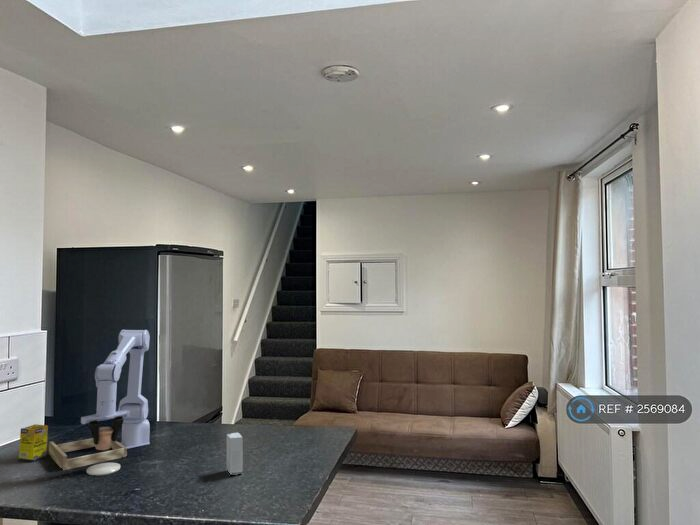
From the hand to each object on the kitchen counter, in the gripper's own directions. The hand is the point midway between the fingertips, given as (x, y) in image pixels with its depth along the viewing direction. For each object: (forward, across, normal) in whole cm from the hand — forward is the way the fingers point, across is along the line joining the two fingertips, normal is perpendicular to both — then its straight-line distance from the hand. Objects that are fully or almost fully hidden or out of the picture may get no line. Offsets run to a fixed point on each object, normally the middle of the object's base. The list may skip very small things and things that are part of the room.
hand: (104, 442), depth 161 cm
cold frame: (+9, 0, +18) cm, 20 cm away
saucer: (+9, 0, 0) cm, 9 cm away
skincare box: (+9, +31, -30) cm, 44 cm away
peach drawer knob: (+2, 0, +1) cm, 2 cm away
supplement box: (+9, -15, +27) cm, 32 cm away
